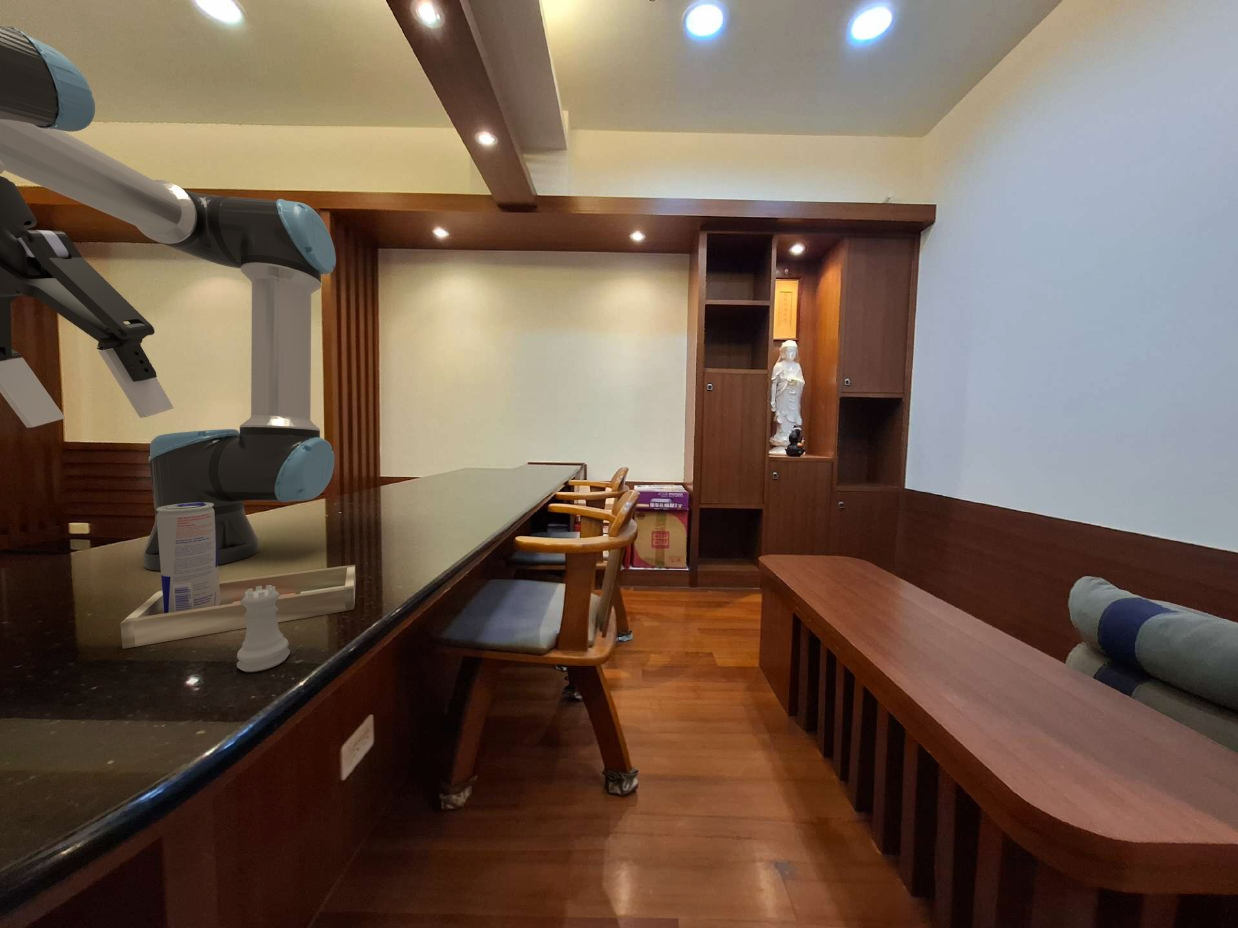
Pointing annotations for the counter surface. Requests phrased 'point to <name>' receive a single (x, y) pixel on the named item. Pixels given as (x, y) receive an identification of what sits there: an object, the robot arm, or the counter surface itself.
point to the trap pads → (280, 595)
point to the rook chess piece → (261, 632)
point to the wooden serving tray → (161, 627)
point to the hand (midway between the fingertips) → (101, 418)
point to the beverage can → (188, 556)
